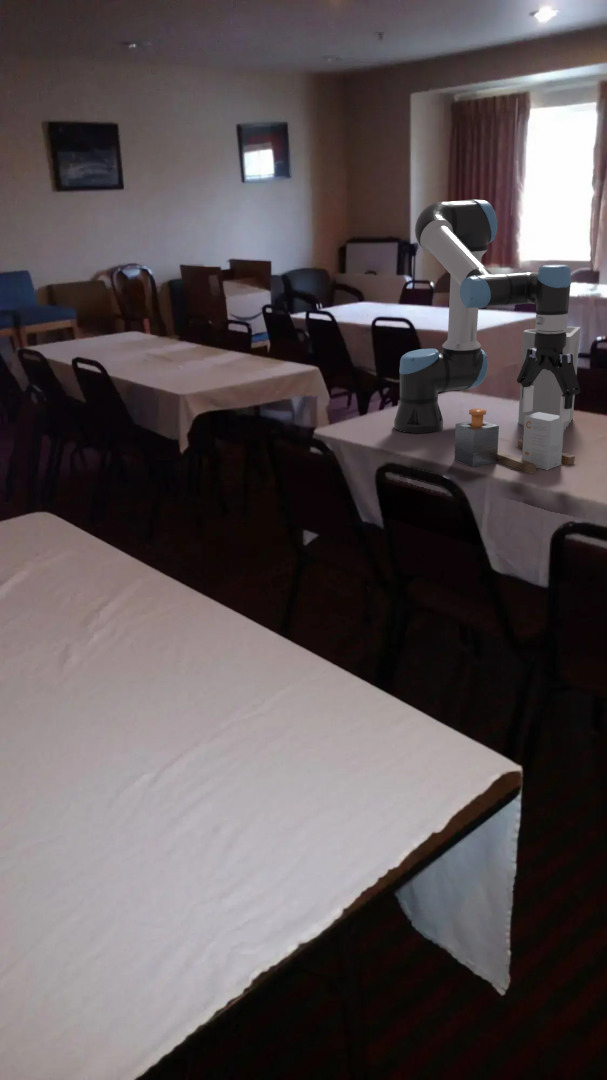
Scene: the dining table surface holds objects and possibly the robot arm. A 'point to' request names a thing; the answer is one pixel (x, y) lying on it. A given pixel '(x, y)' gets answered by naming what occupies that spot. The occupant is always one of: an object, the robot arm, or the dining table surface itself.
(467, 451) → the grey block with hole
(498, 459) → the track
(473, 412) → the orange piece
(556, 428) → the small box
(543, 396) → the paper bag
